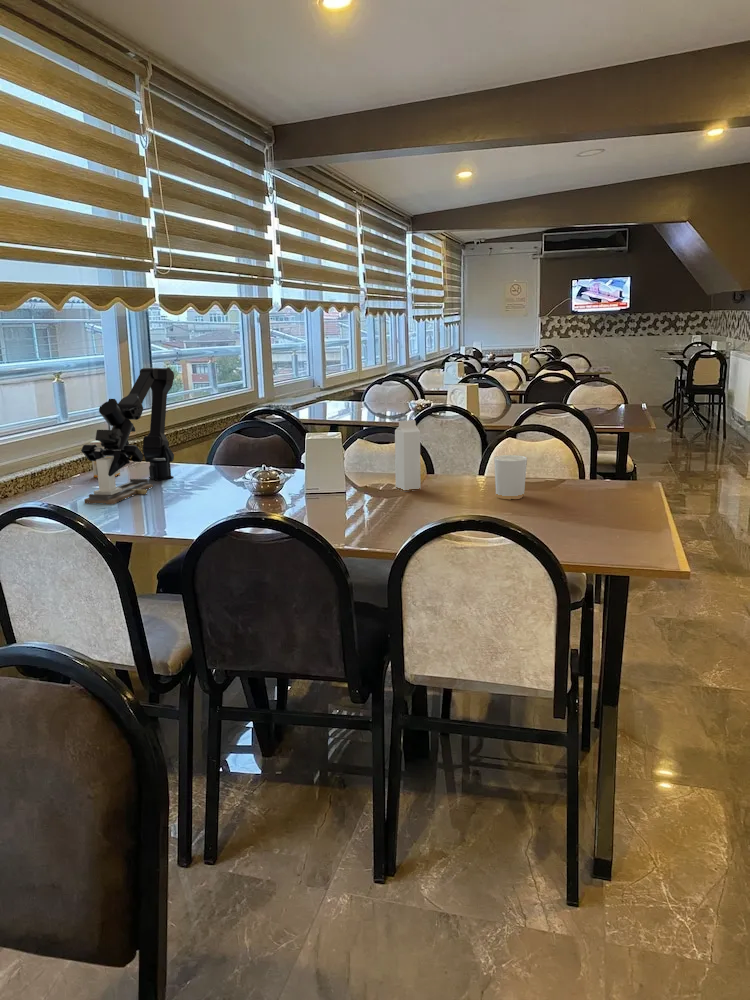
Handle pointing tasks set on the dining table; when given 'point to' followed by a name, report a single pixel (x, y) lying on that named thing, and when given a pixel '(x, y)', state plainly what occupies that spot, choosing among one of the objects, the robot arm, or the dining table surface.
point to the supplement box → (105, 457)
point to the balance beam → (121, 492)
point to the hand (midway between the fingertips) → (103, 475)
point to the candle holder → (510, 475)
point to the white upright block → (105, 478)
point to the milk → (407, 455)
